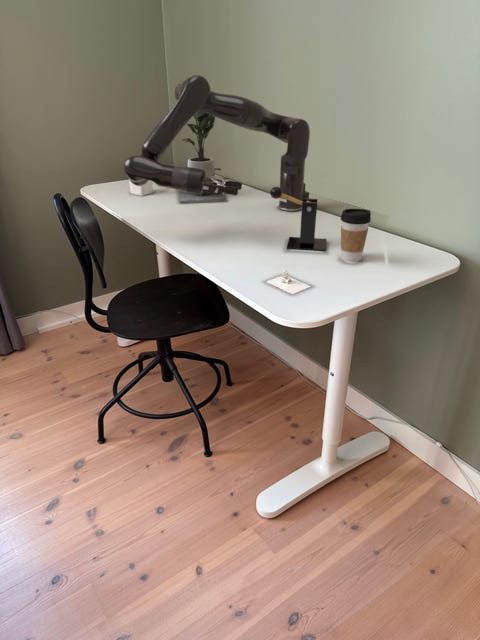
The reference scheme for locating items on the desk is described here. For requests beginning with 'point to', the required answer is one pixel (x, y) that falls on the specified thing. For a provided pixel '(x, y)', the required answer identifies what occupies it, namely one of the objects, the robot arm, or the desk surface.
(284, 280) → the adhesive hook
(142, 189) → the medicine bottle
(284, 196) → the black ball knob lever
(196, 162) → the potted plant
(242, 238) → the desk surface
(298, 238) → the black lever stand
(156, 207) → the desk surface
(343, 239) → the coffee cup
